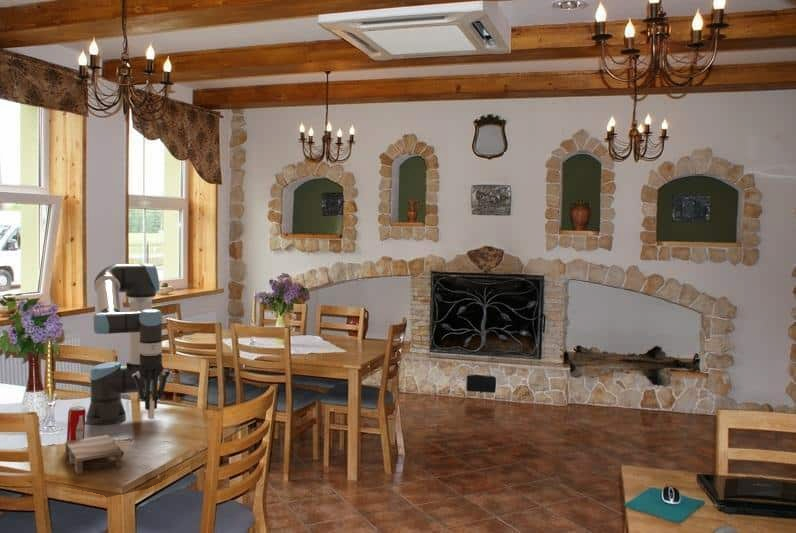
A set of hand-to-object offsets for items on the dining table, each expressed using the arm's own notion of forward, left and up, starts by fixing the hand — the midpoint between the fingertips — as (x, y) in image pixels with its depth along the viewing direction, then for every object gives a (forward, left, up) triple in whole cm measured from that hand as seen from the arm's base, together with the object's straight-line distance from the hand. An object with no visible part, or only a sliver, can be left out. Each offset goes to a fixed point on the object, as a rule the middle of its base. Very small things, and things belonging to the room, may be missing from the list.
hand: (151, 417), depth 247 cm
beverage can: (-18, -22, -13) cm, 31 cm away
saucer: (+1, -17, -13) cm, 22 cm away
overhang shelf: (+1, -20, -13) cm, 23 cm away
